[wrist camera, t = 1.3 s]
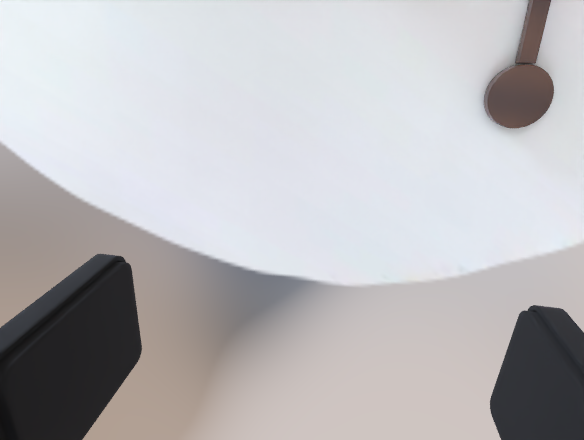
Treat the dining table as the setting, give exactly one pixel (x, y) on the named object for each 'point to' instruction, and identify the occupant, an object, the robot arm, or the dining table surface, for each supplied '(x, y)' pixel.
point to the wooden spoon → (522, 78)
